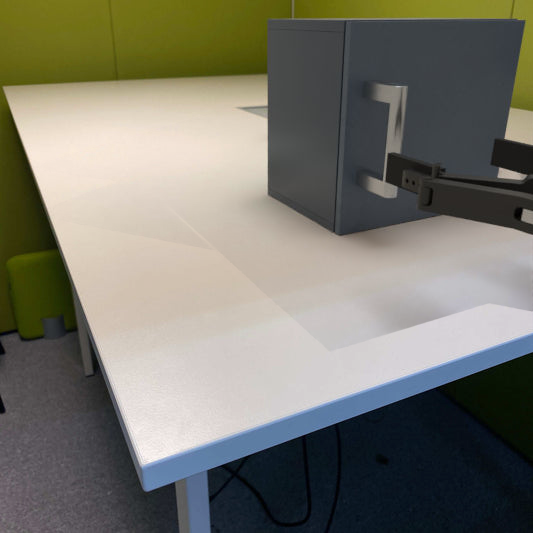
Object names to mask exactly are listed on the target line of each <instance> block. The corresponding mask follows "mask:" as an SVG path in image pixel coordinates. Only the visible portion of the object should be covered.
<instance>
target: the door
mask: <svg viewBox="0 0 533 533" xmlns="http://www.w3.org/2000/svg"><path fill="white" fill-rule="evenodd" d="M526 21H527V20H525V19H517V20H460V21H353V22H346V32H345V51H344V69H343V88H342V106H341V125H340V144H339V162H338V181H337V200H336V218H335V233H334V234H335V235H337V236H344V235H348V234H354V233H359V232H364V231H368V230H373V229H378V228H383V227H389V226H394V225H399V224H403V223H408V222H413V221H418V220H423V219H428V218H432V217H438V216H442V215H441V214H436V213H431V212H426V211H421V210H418V209H417V200H418V195H417V194H415V193H412V192H410V191H407V190H404V189H402V188H399V187H397V186H394V185H392V184H389V183H386V182H385V178H386V167H387V156H388V153H392V152H395V153H399V154H402V155H405V156H408V157H411V158H415V159H418V160H421V161H424V162H427V163H431V164H434V163H441V167H443V168H446V171H445V173H454V174H464V175H475V176H486V177H496V178H499V172H500V167H496V166H492V165H490V163H491V157H492V152H493V146H494V140H495V138H503V139H506V133H507V128H508V121H509V116H510V110H511V106H512V105H511V104H512V99H513V95H514V93H513V92H514V88H515V84H516V77H517V71H518V67H519V61H520V55H521V50H522V44H523V38H524V32H525V28H526Z"/></svg>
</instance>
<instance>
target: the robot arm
mask: <svg viewBox="0 0 533 533" xmlns="http://www.w3.org/2000/svg"><path fill="white" fill-rule="evenodd" d="M490 165H492V166H496V167H499V169H500V168H501V169H503V170H506V171H511V172H513V173H518V174H521V175H525V177H524V179H518V178H517V179H516V178H505V177H498V178H496V177H486V176H475V175H464V174H454V173H445V171H446V168H443V167H441V163H434V164H431V163H427V162H424V161H421V160H418V159H415V158H411V157H408V156H405V155H402V154H399V153H395V152H392V153H388V156H387V167H386V178H385V182H386V183H389V184H392V185H394V186H397V187H399V188H402V189H404V190H407V191H410V192H412V193H415V194H417V195H418V200H417V209H418V210H421V211H426V212H431V213H436V214H441V215H440V216H446V217H447V216H448V217H452V218H456V219H457V218H458V219H463V220H467V221H472V222H477V223H482V224H487V225H492V226H497V227H503V228H507V229H513V230H516V231H519V232H522V233H525V234H528V235H531V236H533V144H530V143H526V142H521V141H516V140H511V139H507V138H505V139H503V138H495V140H494V146H493V152H492V157H491V163H490Z"/></svg>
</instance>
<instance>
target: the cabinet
mask: <svg viewBox="0 0 533 533" xmlns="http://www.w3.org/2000/svg"><path fill="white" fill-rule="evenodd" d="M460 20H518V18H500V17H499V18H496V17H495V18H491V17H490V18H487V17H485V18H483V17H482V18H481V17H479V18H478V17H477V18H476V17H475V18H474V17H384V18H383V17H369V18H367V17H362V18H361V17H359V18H356V17H351V18H341V17H339V18H268V19H267V196H269V197H271V198H272V199H273V200H276V201H277V202H279V203H281V204H282V205H285V207H288V208H289V209H291V210H293V211H295V212H297V213H298V214H300V215H302V216H303V217H305V218H307V219H309V220H310V221H311V222H313V223H315V224H317V225H318V226H321V227H322V228H324V229H326V230H327V231H329V232H331V233H333V234H335V218H336V200H337V181H338V162H339V144H340V125H341V106H342V88H343V69H344V51H345V32H346V22H353V21H460Z"/></svg>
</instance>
